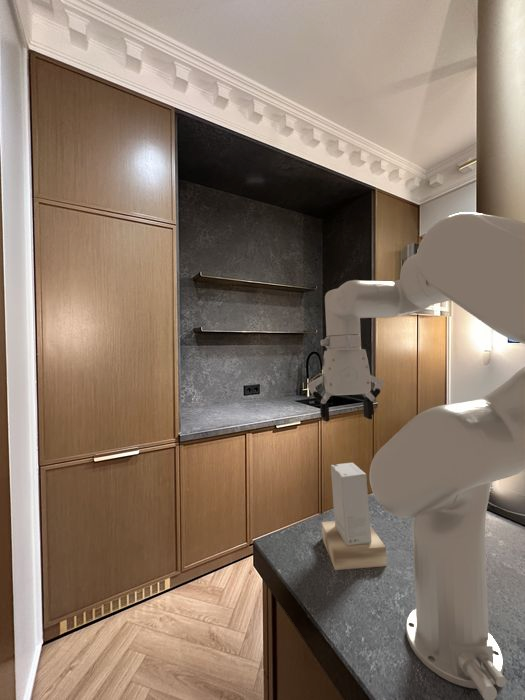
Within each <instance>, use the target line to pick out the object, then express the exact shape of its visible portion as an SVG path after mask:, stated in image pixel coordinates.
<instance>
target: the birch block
mask: <svg viewBox="0 0 525 700" xmlns="http://www.w3.org/2000/svg"><path fill="white" fill-rule="evenodd" d="M370 529H371V543H370V544H355V545H346V543H345V542H344V540H343V539H342V537H341V535H340V534H339V532H338V530H337V529H336V527H335V520H329V521H321V539H322V541H323V544H324V547H325V548H326V552H327V554H328V557H329V558H330V561H331V564H332V567H333V569H334V571H339V570H351V569H352V570H353V569H366V568H368V569H369V568H377V567H379V568H380V567H386V566H387V548H386V546H385V544H384V543H383V541H382V540H381V538H380V537H379V535H378V534H377V532H376V531H375V530H374V528H373V527H372V525H370Z"/></svg>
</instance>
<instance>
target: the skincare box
mask: <svg viewBox="0 0 525 700" xmlns="http://www.w3.org/2000/svg"><path fill="white" fill-rule="evenodd" d="M330 475H331V487H332V488H331V489H332V500H333V501H332V503H333V504H332V505H333V515H334V516H333V517H334V521H335V527H336V529H337V530H338V532H339V534H340V535H341V537H342V539H343V540H344V542H345V543H346V545H355V544H370V543H371V529H370V526H371V521H370V519H371V518H370V507H369V496H368V495H369V494H368V493H369V492H368V484H367V480H368V479H367V473H366V472H364V471H363V470H362V468H361V469H360V467H359V466H357V465H356V464H355V463H354V462H344V463H338V464H337V463H336V464H331V465H330Z"/></svg>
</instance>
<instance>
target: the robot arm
mask: <svg viewBox="0 0 525 700" xmlns="http://www.w3.org/2000/svg"><path fill="white" fill-rule="evenodd" d="M448 301H452V302H453V303H454V304H456V305H457V306H459V307H460V308H462V309H463V310H464V311H466V312H467V313H469V314H470V315H471V316H473V317H474V318H476V319H477V320H479V321H480V322H482V323H483V324H484V325H486V326H487V327H489V328H490V329H492V330H493V331H495V332H497V333H498V334H499V335H502V336H504V337H505V338H508V339H509V340H513V341H515V342H518V343H521V344H524V345H525V222H523V221H521V220H518V219H515V218H509V217H503V216H497V215H491V214H485V213H479V212H471V211H470V212H468V211H467V212H465V211H464V212H459V213H455V214H452V215H449V216H446V217H445V218H443V219H440V220H439V221H437V222H436V223H435V224H433V226H431V227H430V228H429V229H428V230H427V231H426V233H425V234H424V235H423V237H422V239H421V241H420V242H419V245H418V247H417V252H416V253H415V254H413V255H411V256H409V257H408V258H407V259H406V260H404V263H403V264H402V266H401V269H400V274H399V279H396V280H393V281H383V280H359V279H353V280H348V281H345V282H344V283H343V284H341V285H340V286H339V287H337V288H334V289H331V290H328V291H327V292H326V293H325V296H324V307H325V308H324V309H325V311H324V312H325V326H326V327H325V329H326V330H325V331H326V337H325V338H324V339H320V346H323V347H325V348H326V350H324V351H323V358H322V369H321V371H322V372H321V376H319V377H317V378H316V379H314V380H312V381H310V382H309V383H308V384H306V385H307V388H308V390H309V392H310V393H311V395H312V397H313V398H315V399H316V400H317V401H318V402H319V408H320V410H319V411H320V417H321V418H322V419H323V420H324V421H325V422H326V423H328V422H330V406H329V405H330V404H329V403H328V400H329V399H331V398H330V397H332V396H349V395H353V396H354V395H362V396H363V397H364V399H363V400H362V402H363V403H362V405H363V417H364V418H366V419H368V420H373V415H374V414H375V413H374V401H376V398H377V397H378V396H379V395H380V394H381V390H382V389H383V386H384V384H385V382H384V380H382V379H381V378H378V377H376V376H374V375H372V374H371V372H370V371H371V370H370V364H369V360H368V356H367V351H366V349H364V348H362V339H361V338H362V337H361V319H368V318H371V319H373V318H375V319H377V318H379V319H380V318H381V319H382V318H383V319H387V318H396V317H401V316H405V315H410V314H415V313H417V312H421V311H424V310H425V309H427V308H429V307H430V306H433V305H436V304H437V305H438V304H441V303H445V302H448ZM372 383H374V387H373V388H372ZM319 385H321V388H322V392H321V394H320V393H319V392H318V390H317V389H316V387H318V386H319ZM524 471H525V366H524V367H522V368H520V369H519V370H518V371H516V372H515V373H514V374H513V375H512V376H511V377H510V378H509V379H508V380H506V381H505V382H504V383H503V384H501V385H500V386H498V387H497V388H496V389H494V390H493V391H490V392H489V393H488V394H487V395H484V396H483V397H480V398H477V399H472V400H468V401H464V402H463V401H462V402H454V403H448V404H442V405H437V406H433V407H431V408H428V409H426V410H423V411H422V412H420V413H418V414H417V415H415V416H414V417H413V418H411V419H410V420H409V421H408V422H407V423H406V424H404V426H402V428H400V429H399V430H398V431H397V432H396V433H395V434H394V435H393V436H391V438H390V439H389V440H388V441H387V442H386V443H385V444H383V445H382V447H380V448H379V449H378V451H377V452H376V453H375V454H374V456H373V458H372V461H371V463H370V467H369V475H368V477H369V485H370V489H371V491H372V494H373V496H374V498H375V499H376V500H377V502H378V503H379V504H380V506H381V507H383V509H385V510H386V511H388V513H391V514H392V515H395V516H397V517H400V518H405V519H412V518H413V520H412V544H413V549H412V550H413V566H414V567H413V568H414V569H413V570H414V571H413V573H414V591H415V592H414V593H415V609H413V610H411V612H410V613H409V614H408V615H407V618H406V622H405V629H406V632H405V633H406V637H407V640H408V643H409V645H410V647H411V649H412V651H413V652H414V654H415V655H416V657H417V658H418V659H419V660H420V661H421V662H422V664H423V665H425V666H426V667H427V668H428V669H429V670H431V672H433V673H434V674H436V675H437V676H438V677H441V678H442V679H444V680H446V681H447V682H449V683H453V684H454V685H457V686H461V687H464V688H468V689H477V691H478V692H479V694H480V696H482V699H483V700H496V698H497V696H498V691H497V689H496V687H495V685H496V686H497V687H498V688H503V687H505V686H506V685H507V679H506V678H505V676H504V674H503V673H504V657H503V654H502V652H501V649H500V647H499V645H498V643H497V642H496V640H495V639H494V638H493V636H492V635H491V634H490V633H489V632H490V631H489V629H490V628H489V607H488V606H489V605H488V586H487V585H488V583H487V581H488V580H487V558H486V555H487V554H486V552H487V551H486V550H487V549H486V517H487V510H488V504H489V500H490V494H491V483H492V482H493V483H494V482H496V481H501V480H504V479H508V478H510V477H513V476H516V475H518V474H520V473H523V472H524Z"/></svg>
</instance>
